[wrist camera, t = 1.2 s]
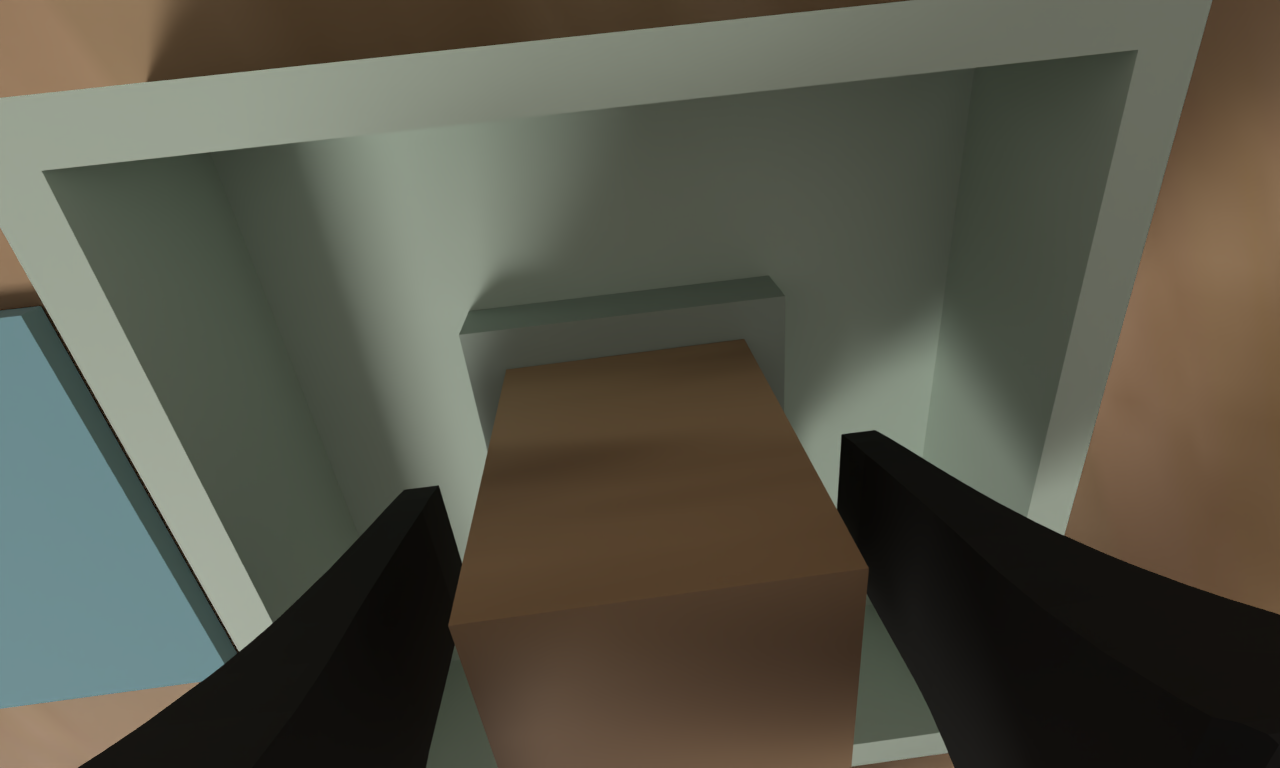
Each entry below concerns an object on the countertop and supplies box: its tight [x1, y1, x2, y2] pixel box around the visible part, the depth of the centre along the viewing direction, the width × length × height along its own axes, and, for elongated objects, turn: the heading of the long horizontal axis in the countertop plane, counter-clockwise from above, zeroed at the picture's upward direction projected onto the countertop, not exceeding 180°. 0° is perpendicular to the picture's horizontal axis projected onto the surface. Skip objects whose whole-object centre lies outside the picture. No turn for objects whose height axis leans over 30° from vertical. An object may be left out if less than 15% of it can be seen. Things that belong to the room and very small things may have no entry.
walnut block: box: [448, 339, 869, 768], centre depth 11 cm, size 4×4×6 cm
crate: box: [0, 0, 1212, 768], centre depth 13 cm, size 15×15×4 cm
